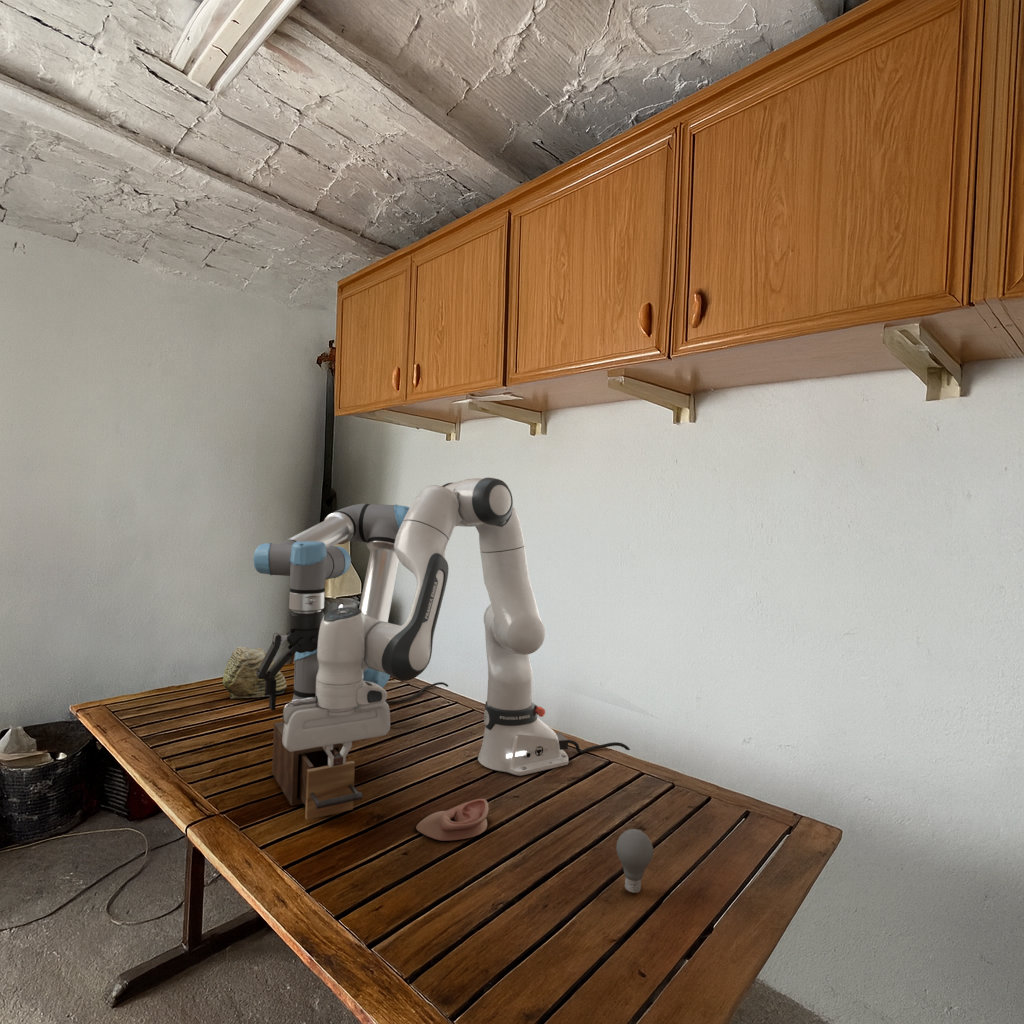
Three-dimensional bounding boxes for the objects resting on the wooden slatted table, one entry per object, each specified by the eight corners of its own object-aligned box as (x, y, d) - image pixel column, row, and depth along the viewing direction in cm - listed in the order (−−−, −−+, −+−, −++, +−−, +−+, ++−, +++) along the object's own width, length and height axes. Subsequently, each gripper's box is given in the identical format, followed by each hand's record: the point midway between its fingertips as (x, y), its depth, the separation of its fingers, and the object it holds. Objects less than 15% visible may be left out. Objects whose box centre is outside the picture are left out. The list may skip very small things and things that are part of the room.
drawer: (362, 821, 122) (364, 773, 122) (314, 833, 117) (316, 783, 117) (328, 778, 140) (330, 735, 140) (286, 786, 135) (287, 742, 135)
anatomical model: (410, 815, 119) (430, 788, 131) (410, 836, 119) (430, 807, 131) (479, 825, 117) (493, 797, 128) (478, 847, 117) (492, 817, 128)
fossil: (218, 695, 195) (220, 647, 195) (278, 685, 208) (279, 640, 207) (228, 703, 189) (230, 653, 188) (289, 692, 201) (290, 645, 201)
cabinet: (341, 795, 135) (343, 741, 135) (291, 806, 129) (293, 750, 129) (317, 764, 149) (319, 716, 149) (272, 773, 144) (273, 722, 144)
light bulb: (610, 879, 108) (613, 822, 108) (644, 879, 109) (647, 822, 109) (619, 902, 102) (622, 840, 102) (655, 901, 103) (658, 840, 103)
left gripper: (251, 617, 132) (248, 718, 133) (366, 609, 146) (362, 700, 146) (244, 611, 138) (241, 707, 139) (355, 604, 152) (352, 691, 153)
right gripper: (287, 705, 113) (284, 782, 114) (394, 691, 125) (392, 761, 125) (279, 695, 119) (276, 769, 119) (382, 682, 130) (380, 749, 130)
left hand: (303, 704), depth 143 cm, fingers open, 13 cm apart
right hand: (336, 764), depth 122 cm, fingers closed
